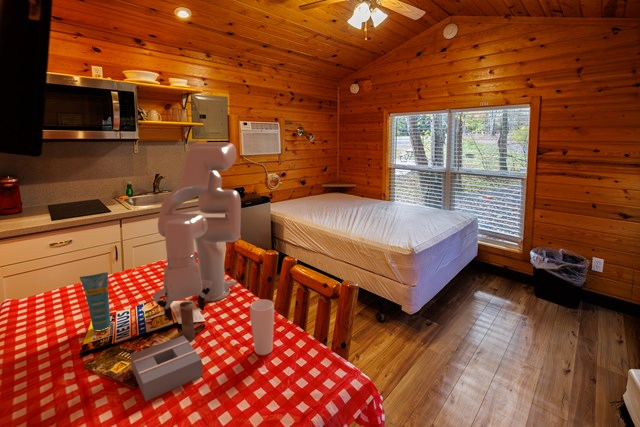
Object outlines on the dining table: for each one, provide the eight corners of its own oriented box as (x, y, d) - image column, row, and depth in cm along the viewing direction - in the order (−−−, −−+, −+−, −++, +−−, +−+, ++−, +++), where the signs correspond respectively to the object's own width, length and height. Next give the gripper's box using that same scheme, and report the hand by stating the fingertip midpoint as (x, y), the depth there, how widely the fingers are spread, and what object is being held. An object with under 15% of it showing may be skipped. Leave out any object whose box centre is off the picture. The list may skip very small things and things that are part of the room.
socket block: (184, 350, 100) (183, 334, 99) (202, 375, 90) (201, 358, 89) (132, 370, 92) (130, 353, 90) (145, 401, 81) (143, 382, 80)
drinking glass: (278, 346, 102) (277, 301, 99) (268, 360, 96) (266, 312, 93) (259, 341, 105) (257, 297, 101) (247, 354, 98) (245, 308, 95)
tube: (88, 335, 108) (79, 279, 103) (89, 328, 111) (79, 274, 107) (116, 328, 112) (107, 274, 107) (115, 321, 115) (107, 269, 111)
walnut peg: (192, 334, 108) (189, 300, 106) (196, 339, 106) (193, 304, 103) (181, 338, 106) (178, 303, 103) (185, 343, 104) (181, 308, 101)
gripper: (205, 251, 108) (208, 301, 111) (146, 263, 97) (152, 318, 100) (214, 257, 102) (218, 309, 106) (153, 271, 91) (159, 328, 95)
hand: (185, 313), depth 103 cm, fingers open, 9 cm apart
